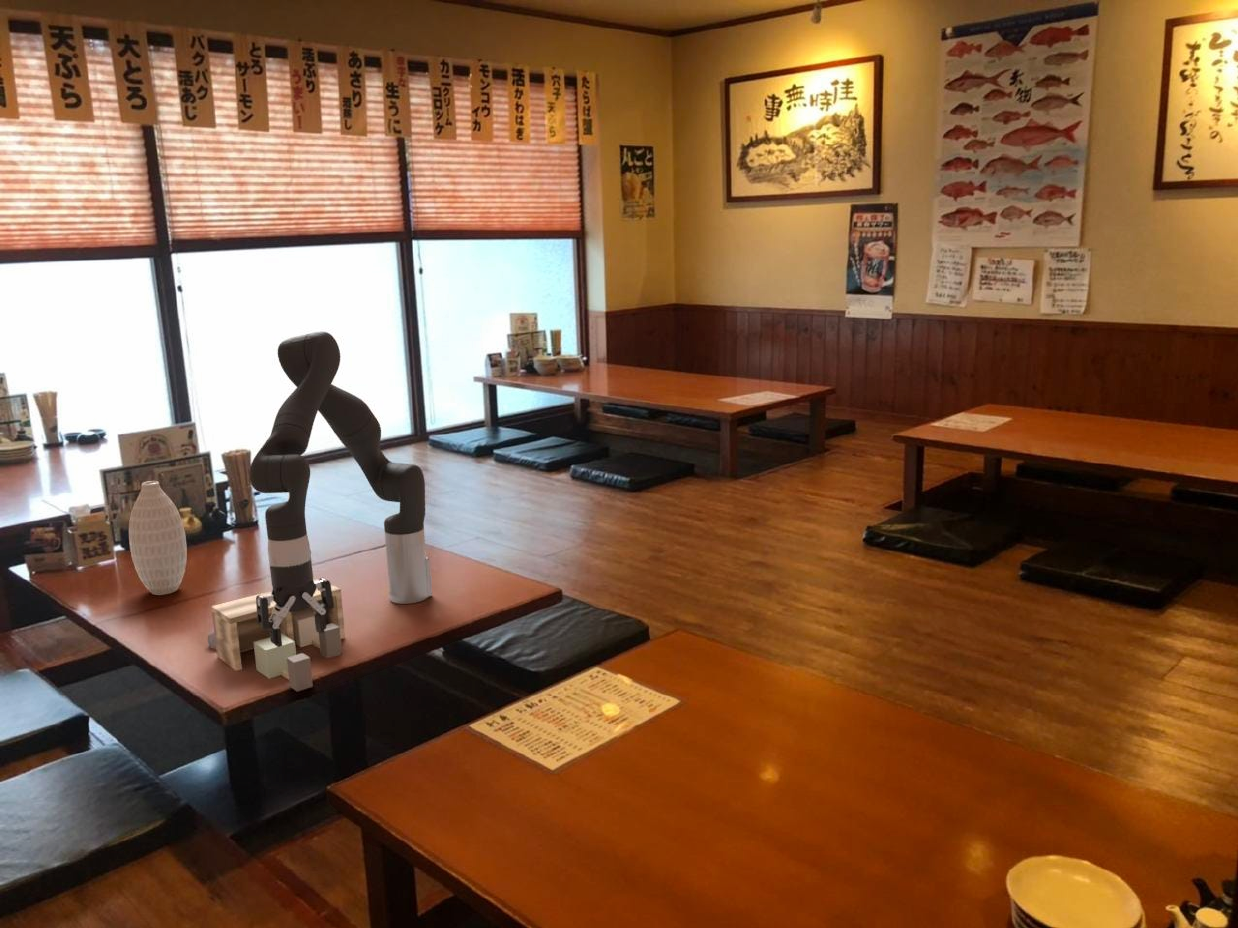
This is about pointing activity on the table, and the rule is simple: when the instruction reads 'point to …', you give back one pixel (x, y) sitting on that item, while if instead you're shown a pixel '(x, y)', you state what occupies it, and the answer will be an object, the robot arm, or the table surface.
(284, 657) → the sage block
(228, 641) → the shelf
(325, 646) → the cream block
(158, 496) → the vase
